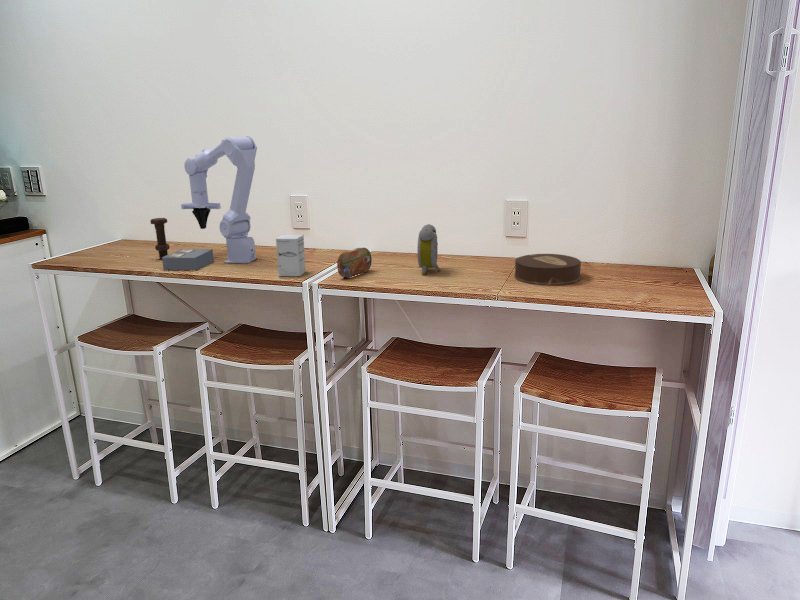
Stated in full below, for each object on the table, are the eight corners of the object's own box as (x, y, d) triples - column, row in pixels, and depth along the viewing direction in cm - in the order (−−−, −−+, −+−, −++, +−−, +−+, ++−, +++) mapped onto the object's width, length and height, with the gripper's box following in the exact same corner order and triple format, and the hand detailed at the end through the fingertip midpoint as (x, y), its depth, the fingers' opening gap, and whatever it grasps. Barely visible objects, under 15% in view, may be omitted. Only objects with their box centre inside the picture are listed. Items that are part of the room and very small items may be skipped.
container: (501, 274, 201) (502, 255, 199) (553, 267, 209) (554, 249, 207) (539, 290, 184) (540, 269, 182) (594, 282, 191) (595, 262, 189)
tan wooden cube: (195, 261, 229) (193, 249, 228) (189, 264, 225) (188, 252, 224) (184, 261, 230) (183, 249, 229) (179, 264, 226) (177, 252, 225)
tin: (343, 280, 198) (342, 254, 196) (336, 279, 200) (334, 253, 198) (372, 270, 210) (371, 245, 208) (365, 269, 212) (364, 244, 210)
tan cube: (186, 266, 223) (184, 253, 221) (180, 268, 219) (178, 256, 217) (175, 266, 223) (173, 253, 222) (169, 268, 219) (168, 256, 218)
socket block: (213, 261, 230) (212, 249, 228) (196, 270, 216) (194, 257, 215) (182, 261, 231) (181, 248, 230) (163, 270, 218) (161, 257, 217)
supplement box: (278, 276, 205) (274, 238, 202) (285, 271, 212) (282, 234, 209) (300, 277, 204) (297, 238, 201) (306, 271, 211) (303, 234, 208)
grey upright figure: (422, 267, 212) (421, 223, 208) (442, 267, 211) (442, 223, 207) (417, 276, 201) (416, 229, 197) (439, 276, 200) (438, 229, 196)
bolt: (167, 260, 233) (162, 220, 229) (154, 260, 233) (148, 220, 229) (173, 257, 238) (168, 217, 234) (160, 257, 239) (154, 217, 234)
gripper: (175, 193, 230) (180, 230, 234) (213, 192, 228) (217, 230, 231) (184, 190, 236) (188, 226, 240) (221, 190, 234) (225, 226, 238)
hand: (203, 228), depth 236 cm, fingers closed
